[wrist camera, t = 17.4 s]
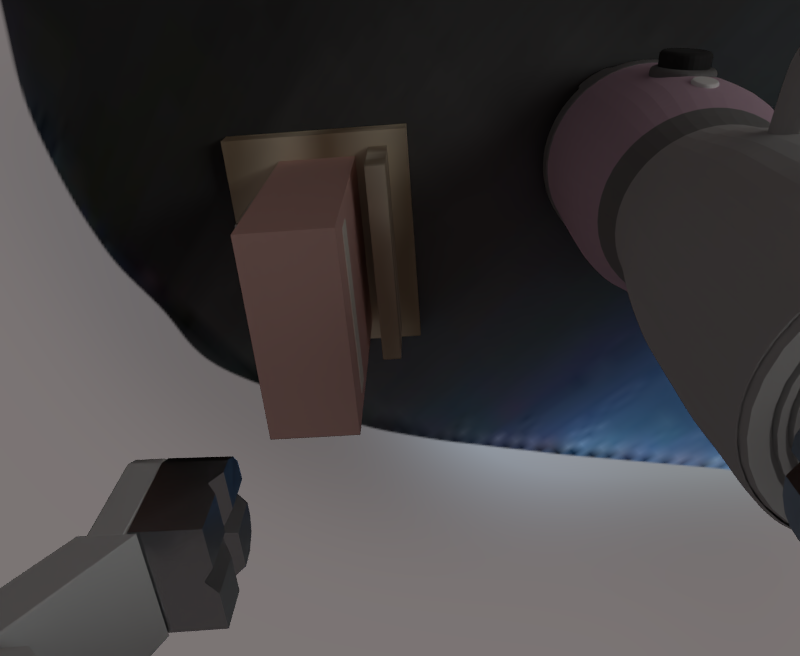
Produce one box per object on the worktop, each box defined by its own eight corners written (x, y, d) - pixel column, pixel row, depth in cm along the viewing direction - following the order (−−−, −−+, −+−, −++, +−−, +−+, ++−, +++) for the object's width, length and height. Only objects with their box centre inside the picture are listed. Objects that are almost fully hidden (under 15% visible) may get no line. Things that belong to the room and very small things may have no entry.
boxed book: (355, 155, 46) (335, 227, 34) (373, 320, 51) (361, 434, 39) (278, 161, 46) (229, 234, 34) (303, 324, 52) (269, 439, 39)
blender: (703, 244, 50) (1089, 614, 22) (531, 241, 50) (688, 606, 22) (758, -2, 43) (1446, 67, 14) (556, -5, 43) (844, 58, 14)
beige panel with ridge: (406, 123, 46) (405, 146, 41) (420, 326, 53) (421, 370, 48) (225, 136, 47) (200, 161, 41) (262, 335, 54) (245, 380, 48)
